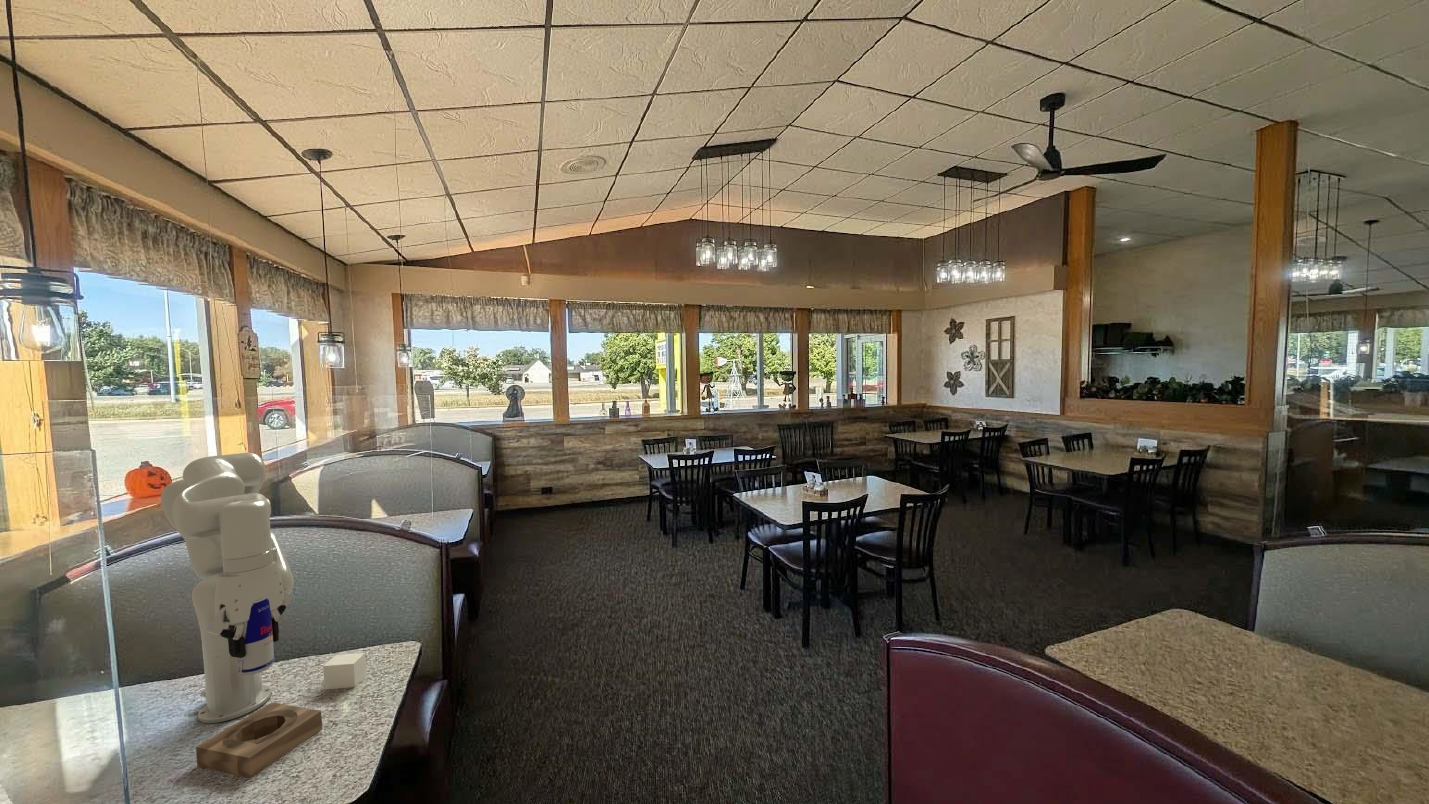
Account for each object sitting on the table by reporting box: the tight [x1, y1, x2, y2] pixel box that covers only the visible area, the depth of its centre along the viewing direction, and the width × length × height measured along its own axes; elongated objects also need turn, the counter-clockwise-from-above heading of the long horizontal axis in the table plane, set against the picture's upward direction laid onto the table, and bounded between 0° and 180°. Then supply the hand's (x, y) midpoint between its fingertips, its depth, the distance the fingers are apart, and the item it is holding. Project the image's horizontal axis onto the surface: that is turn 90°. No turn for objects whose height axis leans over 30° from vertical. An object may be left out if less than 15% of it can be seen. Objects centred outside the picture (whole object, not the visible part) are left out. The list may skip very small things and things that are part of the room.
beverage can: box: [237, 597, 276, 675], centre depth 106 cm, size 6×6×15 cm
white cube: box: [322, 652, 368, 690], centre depth 129 cm, size 7×5×6 cm
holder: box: [195, 702, 323, 779], centre depth 107 cm, size 14×14×4 cm
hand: (255, 647), depth 106 cm, fingers closed on beverage can, 5 cm apart
